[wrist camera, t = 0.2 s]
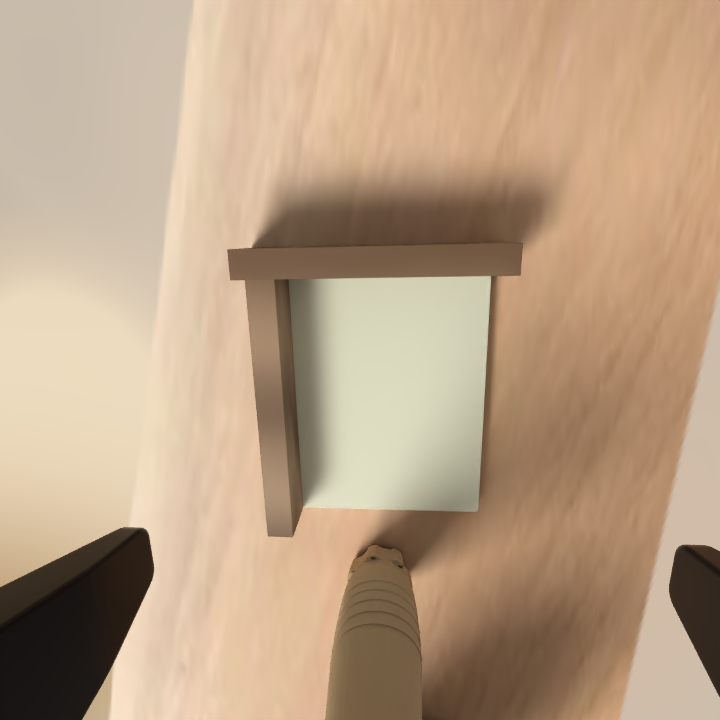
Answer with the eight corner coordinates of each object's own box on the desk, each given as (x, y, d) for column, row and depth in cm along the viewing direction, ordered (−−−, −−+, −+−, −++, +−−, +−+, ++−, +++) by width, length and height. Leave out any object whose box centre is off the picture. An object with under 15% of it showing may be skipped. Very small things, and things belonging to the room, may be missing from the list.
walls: (487, 505, 23) (501, 543, 20) (272, 499, 24) (255, 535, 21) (503, 242, 19) (522, 243, 17) (251, 247, 20) (227, 249, 17)
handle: (437, 526, 24) (502, 983, 9) (411, 620, 25) (431, 1128, 11) (348, 507, 24) (273, 929, 9) (328, 602, 25) (239, 1081, 11)
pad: (476, 505, 23) (478, 512, 22) (305, 500, 24) (303, 507, 23) (488, 270, 20) (491, 271, 19) (291, 273, 21) (288, 274, 20)
